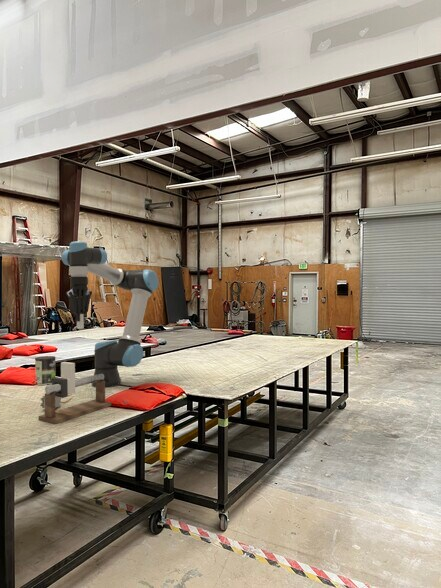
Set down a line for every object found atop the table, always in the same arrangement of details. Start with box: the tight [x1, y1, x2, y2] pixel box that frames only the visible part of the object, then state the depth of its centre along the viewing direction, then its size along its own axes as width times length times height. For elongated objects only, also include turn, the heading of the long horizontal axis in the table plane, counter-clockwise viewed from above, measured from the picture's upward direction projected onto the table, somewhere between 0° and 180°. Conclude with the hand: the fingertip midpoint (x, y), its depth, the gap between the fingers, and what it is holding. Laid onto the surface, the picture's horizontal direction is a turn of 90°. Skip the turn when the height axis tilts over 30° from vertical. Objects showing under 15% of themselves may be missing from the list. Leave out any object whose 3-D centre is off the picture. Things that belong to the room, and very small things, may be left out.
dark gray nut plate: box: [51, 376, 69, 399], centre depth 157 cm, size 2×7×7 cm, turn 59°
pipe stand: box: [38, 380, 112, 425], centre depth 164 cm, size 28×10×10 cm, turn 149°
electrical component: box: [40, 394, 74, 409], centre depth 179 cm, size 24×6×5 cm, turn 0°
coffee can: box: [34, 355, 56, 386], centre depth 219 cm, size 10×10×14 cm
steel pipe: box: [44, 374, 104, 394], centre depth 164 cm, size 27×3×3 cm, turn 149°
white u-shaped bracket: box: [58, 361, 76, 396], centre depth 160 cm, size 4×6×12 cm, turn 59°
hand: (80, 328), depth 181 cm, fingers closed
